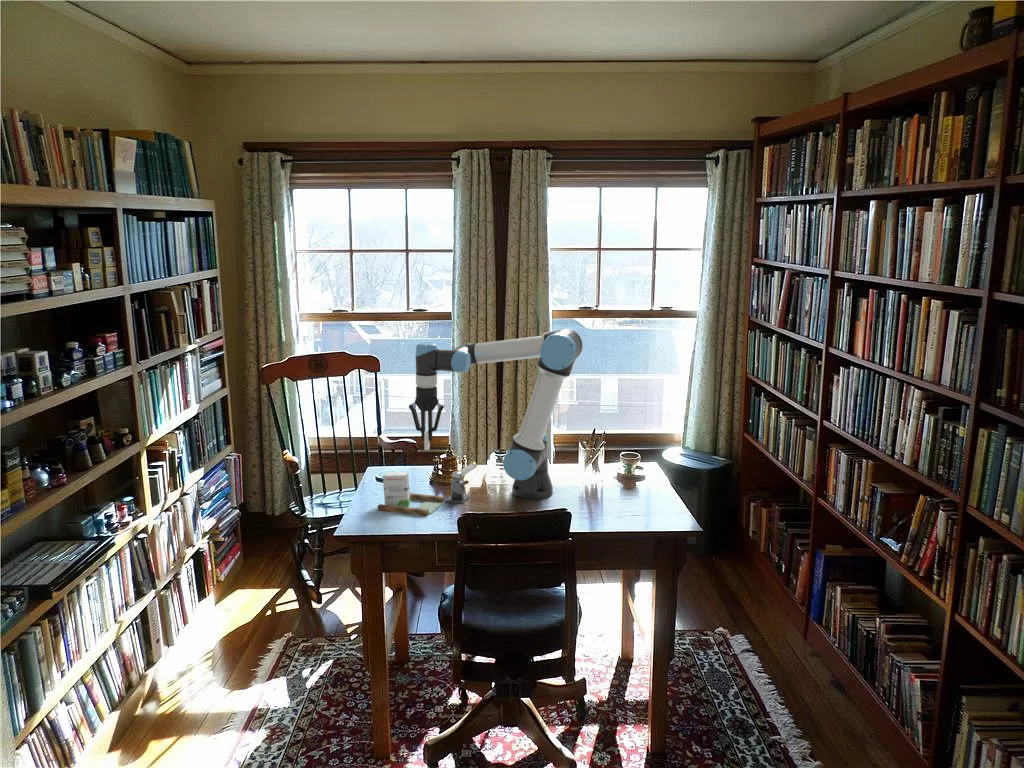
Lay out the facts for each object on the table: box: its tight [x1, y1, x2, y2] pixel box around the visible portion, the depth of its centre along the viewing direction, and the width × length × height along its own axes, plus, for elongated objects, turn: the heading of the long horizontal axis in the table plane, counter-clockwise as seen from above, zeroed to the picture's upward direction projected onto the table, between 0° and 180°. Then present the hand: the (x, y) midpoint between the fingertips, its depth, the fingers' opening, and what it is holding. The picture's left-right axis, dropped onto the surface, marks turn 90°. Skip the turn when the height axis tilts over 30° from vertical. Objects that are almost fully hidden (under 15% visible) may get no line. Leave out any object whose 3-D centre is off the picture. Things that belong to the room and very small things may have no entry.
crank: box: [451, 461, 478, 480], centre depth 285 cm, size 16×4×2 cm, turn 157°
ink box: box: [382, 471, 411, 507], centre depth 276 cm, size 9×5×12 cm, turn 85°
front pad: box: [416, 501, 444, 515], centre depth 273 cm, size 7×11×1 cm, turn 161°
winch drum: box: [445, 478, 472, 504], centre depth 280 cm, size 7×7×8 cm
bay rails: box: [377, 492, 445, 517], centre depth 275 cm, size 19×15×2 cm
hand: (427, 449), depth 280 cm, fingers closed
